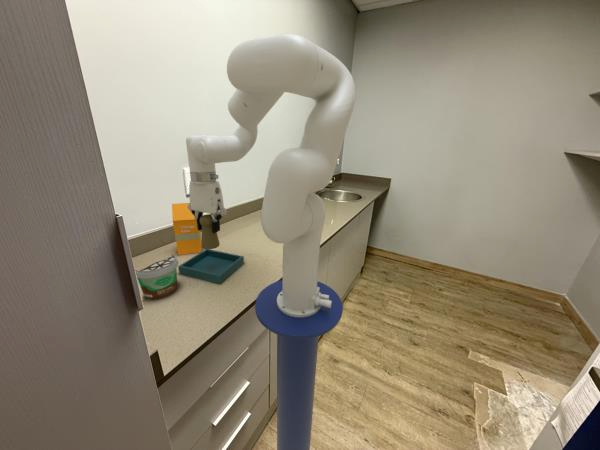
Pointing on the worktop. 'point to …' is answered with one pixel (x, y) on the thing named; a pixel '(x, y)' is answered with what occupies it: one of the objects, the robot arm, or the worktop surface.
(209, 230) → the olive tapered rounded piece
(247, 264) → the worktop surface
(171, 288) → the food container
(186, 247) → the orange juice
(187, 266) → the tray
